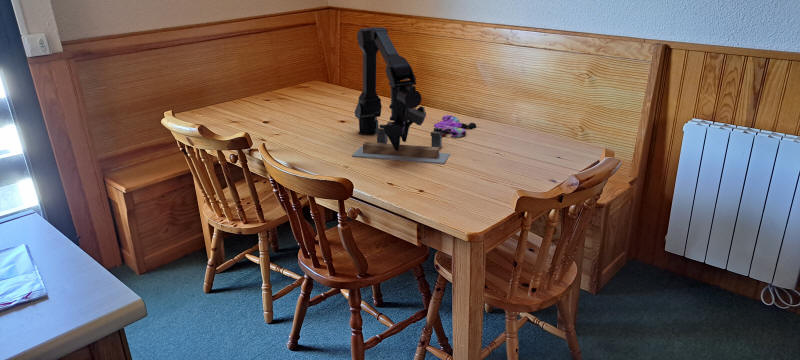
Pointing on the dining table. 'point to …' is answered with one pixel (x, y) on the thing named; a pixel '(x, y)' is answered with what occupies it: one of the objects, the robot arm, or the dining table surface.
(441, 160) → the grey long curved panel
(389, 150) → the rail
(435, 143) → the grey block
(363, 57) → the robot arm
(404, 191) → the dining table surface
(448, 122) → the decorative sculpture
